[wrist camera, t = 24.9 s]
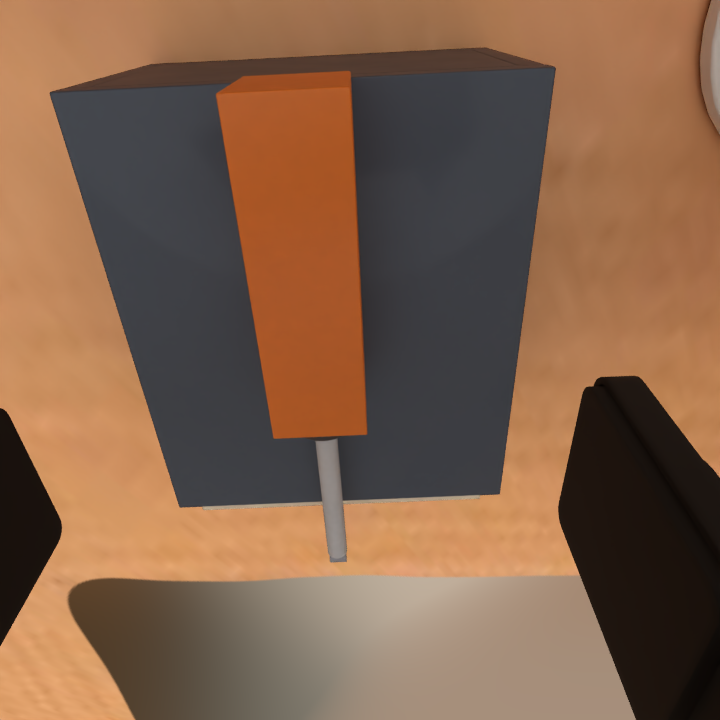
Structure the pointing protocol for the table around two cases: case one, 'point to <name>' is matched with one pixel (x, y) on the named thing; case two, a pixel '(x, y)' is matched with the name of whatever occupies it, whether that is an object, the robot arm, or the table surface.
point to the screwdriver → (302, 259)
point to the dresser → (377, 267)
